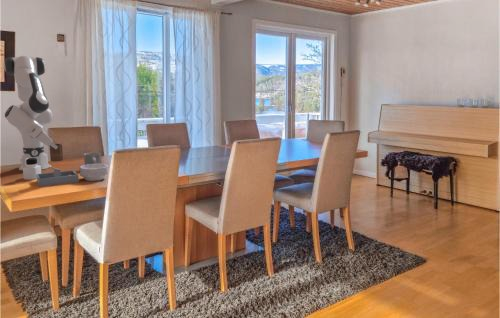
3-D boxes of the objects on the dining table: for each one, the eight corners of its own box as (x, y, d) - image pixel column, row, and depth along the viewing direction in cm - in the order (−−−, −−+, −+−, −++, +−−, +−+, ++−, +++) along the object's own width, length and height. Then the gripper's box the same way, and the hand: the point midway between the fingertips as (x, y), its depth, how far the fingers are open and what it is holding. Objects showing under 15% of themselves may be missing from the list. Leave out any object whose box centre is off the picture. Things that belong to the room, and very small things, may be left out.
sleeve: (50, 160, 234) (49, 144, 233) (61, 159, 237) (60, 143, 236) (51, 161, 229) (50, 145, 228) (63, 160, 232) (62, 144, 231)
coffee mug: (85, 168, 274) (84, 152, 272) (101, 167, 277) (100, 152, 275) (83, 172, 261) (82, 156, 259) (100, 171, 264) (99, 155, 262)
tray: (36, 181, 236) (35, 166, 235) (74, 177, 246) (73, 163, 245) (39, 187, 224) (38, 171, 222) (78, 182, 234) (77, 167, 232)
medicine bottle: (41, 177, 248) (40, 157, 246) (36, 180, 241) (34, 159, 239) (29, 177, 248) (27, 157, 245) (23, 180, 241) (21, 159, 238)
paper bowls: (106, 181, 236) (105, 167, 234) (77, 183, 233) (76, 168, 232) (110, 176, 251) (109, 162, 249) (83, 177, 248) (82, 163, 247)
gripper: (28, 133, 233) (49, 149, 240) (31, 137, 216) (54, 154, 223) (36, 124, 235) (57, 140, 241) (40, 127, 217) (62, 145, 224)
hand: (56, 147), depth 232 cm, fingers closed on sleeve, 6 cm apart
